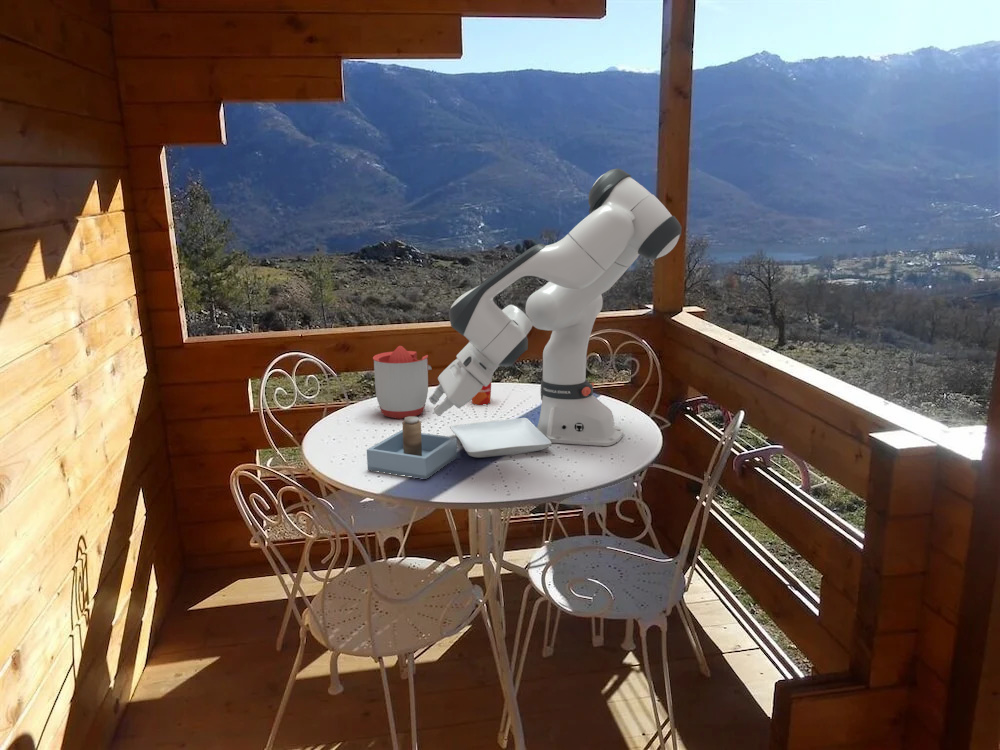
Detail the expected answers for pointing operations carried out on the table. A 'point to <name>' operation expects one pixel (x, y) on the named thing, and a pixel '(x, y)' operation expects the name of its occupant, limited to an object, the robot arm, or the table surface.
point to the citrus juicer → (401, 382)
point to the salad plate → (500, 437)
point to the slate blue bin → (394, 460)
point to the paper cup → (483, 396)
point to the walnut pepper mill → (412, 436)
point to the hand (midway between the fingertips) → (433, 407)
